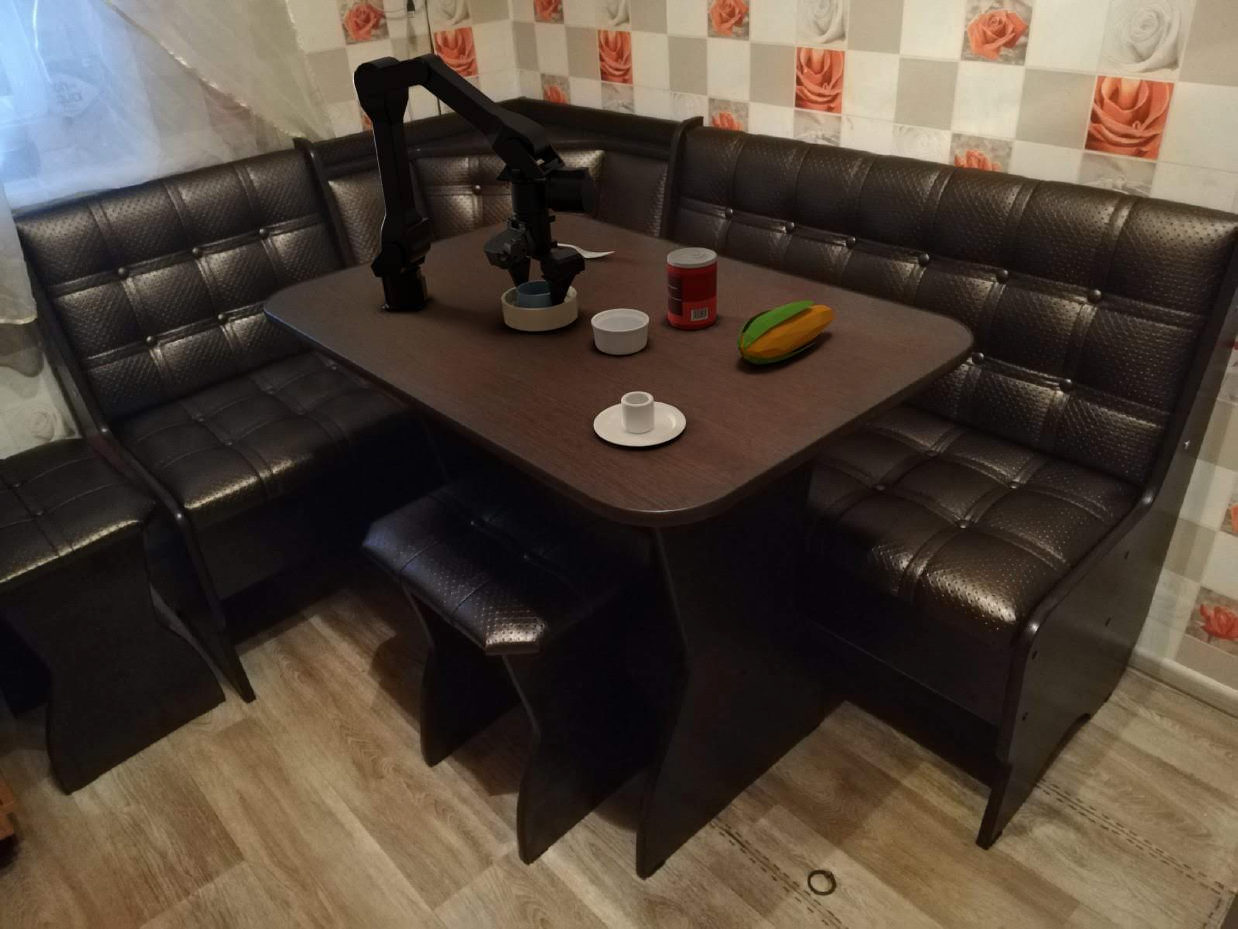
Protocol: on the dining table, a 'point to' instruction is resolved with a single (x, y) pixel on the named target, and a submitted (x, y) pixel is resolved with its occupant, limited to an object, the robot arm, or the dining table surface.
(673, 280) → the canned food
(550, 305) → the slate bowl
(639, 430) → the candle holder
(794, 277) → the dining table surface
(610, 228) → the dining table surface
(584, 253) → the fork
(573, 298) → the cream bowl
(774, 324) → the corn
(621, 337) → the ramekin
